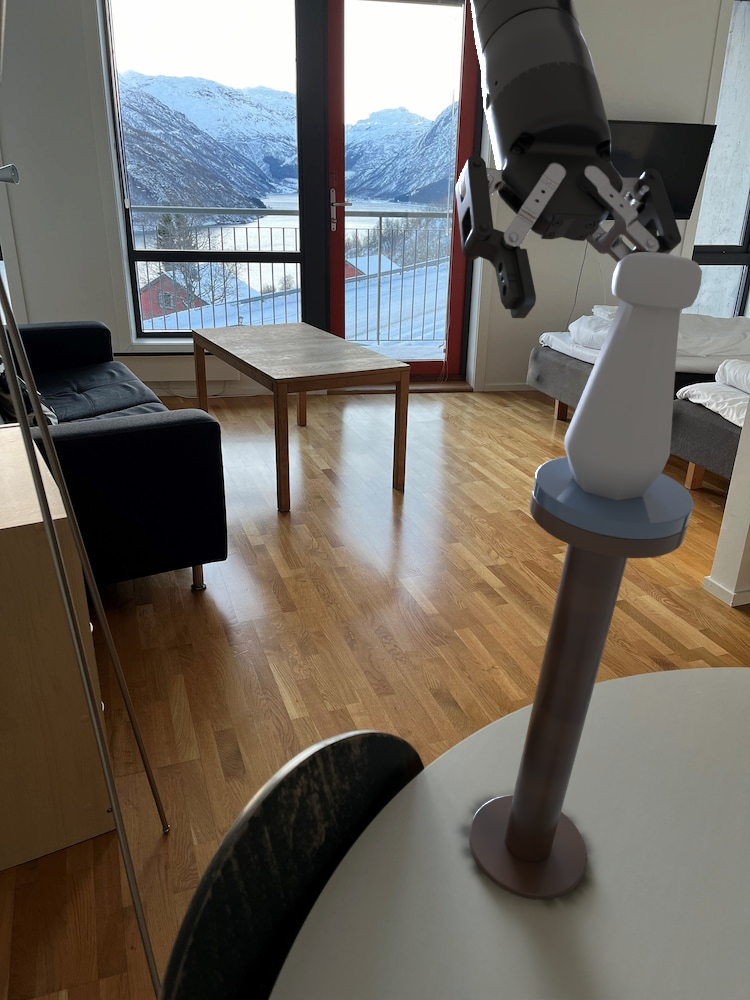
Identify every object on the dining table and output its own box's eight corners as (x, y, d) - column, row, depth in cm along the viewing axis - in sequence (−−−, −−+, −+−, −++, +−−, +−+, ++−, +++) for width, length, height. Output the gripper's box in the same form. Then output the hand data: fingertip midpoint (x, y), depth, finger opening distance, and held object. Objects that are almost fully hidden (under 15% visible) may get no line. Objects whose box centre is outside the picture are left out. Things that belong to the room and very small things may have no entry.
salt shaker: (539, 481, 43) (583, 249, 37) (584, 456, 47) (630, 243, 41) (634, 517, 40) (699, 269, 34) (674, 486, 44) (738, 259, 38)
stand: (486, 791, 63) (551, 458, 49) (592, 834, 60) (694, 491, 46) (451, 876, 56) (515, 512, 41) (570, 930, 52) (683, 556, 38)
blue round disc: (551, 458, 49) (554, 444, 48) (694, 491, 46) (698, 476, 45) (515, 512, 41) (518, 496, 41) (683, 556, 38) (687, 539, 38)
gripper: (461, 46, 45) (504, 274, 40) (665, 68, 49) (726, 281, 44) (427, 139, 52) (460, 343, 47) (607, 153, 55) (655, 344, 51)
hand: (588, 313), depth 46 cm, fingers open, 8 cm apart
